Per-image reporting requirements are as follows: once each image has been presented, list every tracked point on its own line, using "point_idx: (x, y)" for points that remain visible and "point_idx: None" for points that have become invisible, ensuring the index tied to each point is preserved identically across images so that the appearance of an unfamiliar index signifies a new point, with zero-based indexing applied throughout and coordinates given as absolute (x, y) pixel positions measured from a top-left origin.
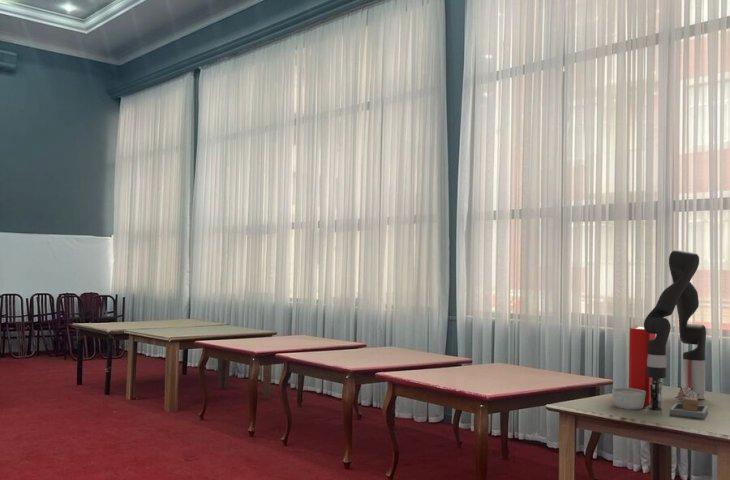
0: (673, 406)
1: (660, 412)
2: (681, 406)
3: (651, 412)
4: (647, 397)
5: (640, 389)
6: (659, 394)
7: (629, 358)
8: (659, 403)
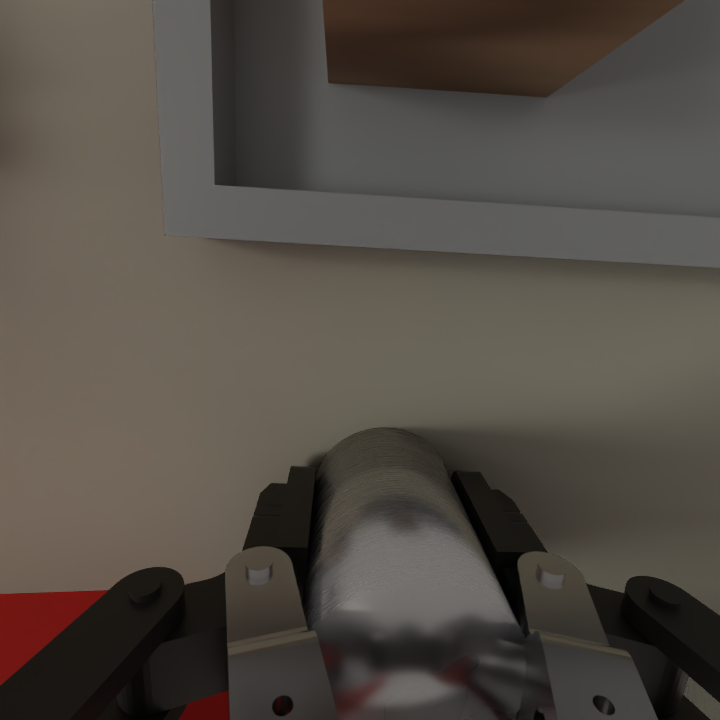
0: (673, 248)
1: (658, 409)
2: (227, 131)
3: (712, 502)
4: (202, 710)
5: None
6: (472, 613)
7: None
8: (448, 489)
